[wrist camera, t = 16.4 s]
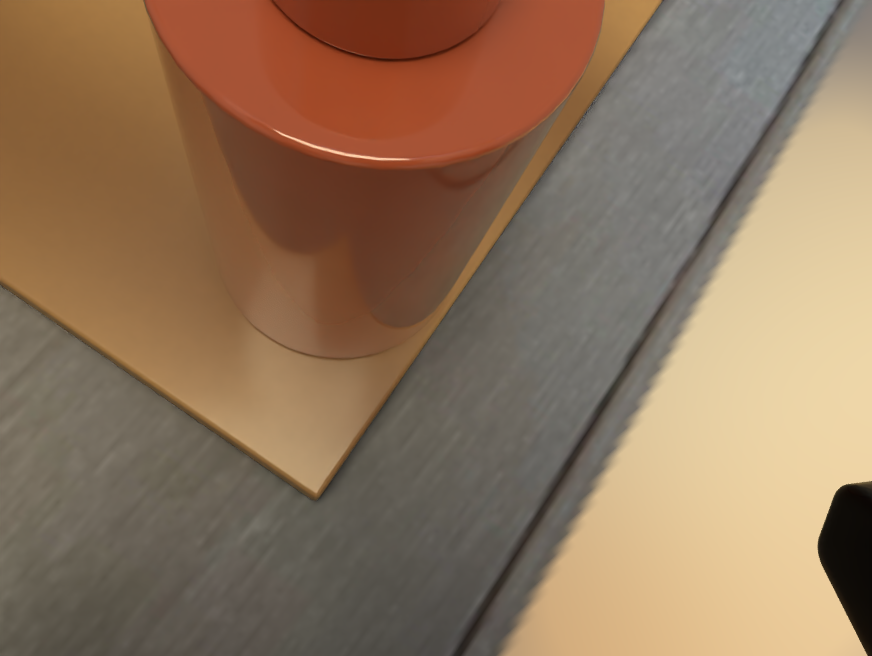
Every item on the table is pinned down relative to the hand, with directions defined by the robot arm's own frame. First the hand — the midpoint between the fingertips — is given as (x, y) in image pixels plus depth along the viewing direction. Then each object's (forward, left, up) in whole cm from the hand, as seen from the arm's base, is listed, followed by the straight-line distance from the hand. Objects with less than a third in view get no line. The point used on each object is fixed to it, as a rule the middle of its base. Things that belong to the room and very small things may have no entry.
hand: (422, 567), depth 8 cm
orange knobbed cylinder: (+5, -3, -6) cm, 8 cm away
